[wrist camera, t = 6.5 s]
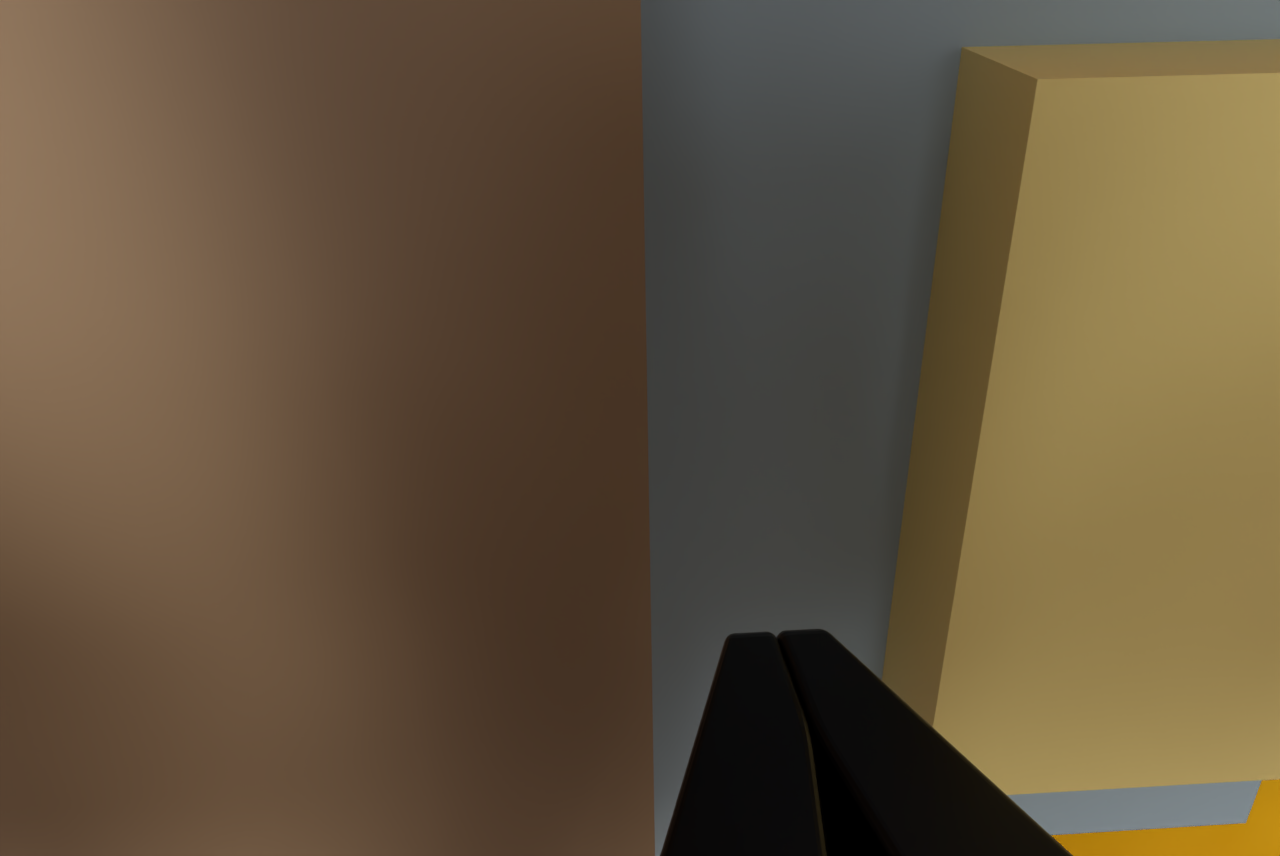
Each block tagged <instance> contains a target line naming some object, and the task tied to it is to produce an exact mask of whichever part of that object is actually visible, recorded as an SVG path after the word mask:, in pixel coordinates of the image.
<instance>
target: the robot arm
mask: <svg viewBox="0 0 1280 856" xmlns="http://www.w3.org/2000/svg"><path fill="white" fill-rule="evenodd" d="M660 856H1073V855H1072V854H1070V853H1069V852H1068V851H1067V850H1066V849H1065V848H1064V847H1063V846H1062V845H1061V844H1060V843H1058V842H1057V841H1056V840H1055V839H1054V838H1053V837H1052V836H1051V835H1050V834H1049V833H1048V832H1046V831H1045V830H1044V829H1043V828H1042V827H1041V826H1040V825H1039V824H1038V823H1037V822H1036V821H1034V820H1033V819H1032V818H1031V817H1030V816H1029V815H1028V814H1027V813H1026V812H1025V811H1024V810H1022V809H1021V808H1020V807H1019V806H1018V805H1017V804H1016V803H1015V802H1014V801H1013V800H1012V799H1010V798H1009V797H1008V796H1007V795H1006V794H1005V793H1004V792H1003V791H1002V790H1001V789H1000V788H998V787H997V786H996V785H995V784H994V783H993V782H992V781H991V780H990V779H989V778H988V777H986V776H985V775H984V774H983V773H982V772H981V771H980V770H979V769H978V768H977V767H976V766H974V765H973V764H972V763H971V762H970V761H969V760H968V759H967V758H966V757H965V756H964V755H962V754H961V753H960V752H959V751H958V750H957V749H956V748H955V747H954V746H953V745H952V744H950V743H949V742H948V741H947V740H946V739H945V738H944V737H943V736H942V735H941V734H940V733H938V732H937V731H936V730H935V729H934V728H933V727H932V726H931V725H930V724H929V723H928V722H926V721H925V720H924V719H923V718H922V717H921V716H920V715H919V714H918V713H917V712H916V711H914V710H913V709H912V708H911V707H910V706H909V705H908V704H907V703H906V702H905V701H904V700H902V699H901V698H900V697H899V696H898V695H897V694H896V693H895V692H894V691H893V690H892V689H891V688H889V687H888V686H887V685H886V684H885V683H884V682H883V681H882V680H881V679H880V678H879V677H877V676H876V675H875V674H874V673H873V672H872V671H871V670H870V669H869V668H868V667H867V666H865V665H864V664H863V663H862V662H861V661H860V660H859V659H858V658H857V657H856V656H855V655H853V654H852V653H851V652H850V651H849V650H848V649H847V648H846V647H845V646H844V645H843V644H841V643H840V642H839V641H838V640H837V639H836V638H835V637H834V636H833V635H832V634H830V633H829V632H827V631H825V630H823V629H802V630H785V631H782V632H780V633H779V634H778V635H777V637H776V636H775V635H774V634H772V633H771V632H767V631H765V632H747V633H733V634H730V635H728V636H727V638H726V639H725V642H724V645H723V648H722V651H721V655H720V658H719V661H718V665H717V668H716V671H715V675H714V678H713V681H712V685H711V688H710V691H709V695H708V698H707V701H706V705H705V708H704V711H703V715H702V718H701V721H700V725H699V728H698V731H697V735H696V738H695V741H694V745H693V748H692V751H691V755H690V758H689V761H688V765H687V768H686V771H685V775H684V778H683V781H682V785H681V788H680V791H679V795H678V798H677V801H676V805H675V808H674V811H673V815H672V818H671V821H670V825H669V828H668V831H667V835H666V838H665V841H664V845H663V848H662V851H661V854H660Z"/></svg>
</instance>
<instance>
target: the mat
mask: <svg viewBox="0 0 1280 856" xmlns="http://www.w3.org/2000/svg"><path fill="white" fill-rule="evenodd" d="M1262 39H1280V0H641V51H642V110H643V169H644V229H645V288H646V347H647V407H648V466H649V526H650V585H651V644H652V704H653V763H654V822H655V856H660V854H661V851H662V848H663V845H664V841H665V838H666V835H667V831H668V828H669V825H670V821H671V818H672V815H673V811H674V808H675V805H676V801H677V798H678V795H679V791H680V788H681V785H682V781H683V778H684V775H685V771H686V768H687V765H688V761H689V758H690V755H691V751H692V748H693V745H694V741H695V738H696V735H697V731H698V728H699V725H700V721H701V718H702V715H703V711H704V708H705V705H706V701H707V698H708V695H709V691H710V688H711V685H712V681H713V678H714V675H715V671H716V668H717V665H718V661H719V658H720V655H721V651H722V648H723V645H724V642H725V639H726V638H727V636H728V635H730V634H733V633H747V632H765V631H767V632H771V633H772V634H774V635H775V636H776V637H777V635H778V634H779V633H780V632H782V631H785V630H802V629H823V630H825V631H827V632H829V633H830V634H832V635H833V636H834V637H835V638H836V639H837V640H838V641H839V642H840V643H841V644H843V645H844V646H845V647H846V648H847V649H848V650H849V651H850V652H851V653H852V654H853V655H855V656H856V657H857V658H858V659H859V660H860V661H861V662H862V663H863V664H864V665H865V666H867V667H868V668H869V669H870V670H871V671H872V672H873V673H874V674H875V675H876V676H877V677H879V678H880V679H881V680H882V675H883V667H884V659H885V651H886V643H887V635H888V627H889V619H890V611H891V604H892V596H893V588H894V580H895V572H896V564H897V556H898V548H899V540H900V532H901V524H902V516H903V509H904V501H905V493H906V485H907V477H908V469H909V461H910V453H911V445H912V437H913V429H914V421H915V413H916V406H917V398H918V390H919V382H920V374H921V366H922V358H923V350H924V342H925V334H926V326H927V318H928V311H929V303H930V295H931V287H932V279H933V271H934V263H935V255H936V247H937V239H938V231H939V223H940V216H941V208H942V200H943V192H944V184H945V176H946V168H947V160H948V152H949V144H950V136H951V128H952V120H953V113H954V105H955V97H956V89H957V81H958V73H959V65H960V57H961V49H962V47H982V46H1022V45H1062V44H1102V43H1142V42H1182V41H1222V40H1262ZM1261 781H1262V780H1257V781H1240V782H1223V783H1206V784H1188V785H1171V786H1154V787H1137V788H1120V789H1103V790H1086V791H1068V792H1051V793H1034V794H1017V795H1007V796H1008V797H1009V798H1010V799H1012V800H1013V801H1014V802H1015V803H1016V804H1017V805H1018V806H1019V807H1020V808H1021V809H1022V810H1024V811H1025V812H1026V813H1027V814H1028V815H1029V816H1030V817H1031V818H1032V819H1033V820H1034V821H1036V822H1037V823H1038V824H1039V825H1040V826H1041V827H1042V828H1043V829H1044V830H1045V831H1046V832H1048V833H1049V834H1050V835H1060V834H1076V833H1092V832H1108V831H1124V830H1140V829H1156V828H1172V827H1188V826H1204V825H1220V824H1236V823H1246V821H1247V818H1248V815H1249V813H1250V810H1251V807H1252V805H1253V802H1254V799H1255V797H1256V794H1257V791H1258V789H1259V786H1260V783H1261Z"/></svg>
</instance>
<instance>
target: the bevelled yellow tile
mask: <svg viewBox="0 0 1280 856" xmlns="http://www.w3.org/2000/svg"><path fill="white" fill-rule="evenodd" d="M882 681H883V682H884V683H885V684H886V685H887V686H888V687H889V688H891V689H892V690H893V691H894V692H895V693H896V694H897V695H898V696H899V697H900V698H901V699H902V700H904V701H905V702H906V703H907V704H908V705H909V706H910V707H911V708H912V709H913V710H914V711H916V712H917V713H918V714H919V715H920V716H921V717H922V718H923V719H924V720H925V721H926V722H928V723H929V724H930V725H931V726H932V727H933V728H934V729H935V730H936V731H937V732H938V733H940V734H941V735H942V736H943V737H944V738H945V739H946V740H947V741H948V742H949V743H950V744H952V745H953V746H954V747H955V748H956V749H957V750H958V751H959V752H960V753H961V754H962V755H964V756H965V757H966V758H967V759H968V760H969V761H970V762H971V763H972V764H973V765H974V766H976V767H977V768H978V769H979V770H980V771H981V772H982V773H983V774H984V775H985V776H986V777H988V778H989V779H990V780H991V781H992V782H993V783H994V784H995V785H996V786H997V787H998V788H1000V789H1001V790H1002V791H1003V792H1004V793H1005V794H1006V795H1017V794H1034V793H1051V792H1068V791H1086V790H1103V789H1120V788H1137V787H1154V786H1171V785H1188V784H1206V783H1223V782H1240V781H1257V780H1274V779H1280V39H1262V40H1222V41H1182V42H1142V43H1102V44H1062V45H1022V46H982V47H962V49H961V57H960V65H959V73H958V81H957V89H956V97H955V105H954V113H953V120H952V128H951V136H950V144H949V152H948V160H947V168H946V176H945V184H944V192H943V200H942V208H941V216H940V223H939V231H938V239H937V247H936V255H935V263H934V271H933V279H932V287H931V295H930V303H929V311H928V318H927V326H926V334H925V342H924V350H923V358H922V366H921V374H920V382H919V390H918V398H917V406H916V413H915V421H914V429H913V437H912V445H911V453H910V461H909V469H908V477H907V485H906V493H905V501H904V509H903V516H902V524H901V532H900V540H899V548H898V556H897V564H896V572H895V580H894V588H893V596H892V604H891V611H890V619H889V627H888V635H887V643H886V651H885V659H884V667H883V675H882Z"/></svg>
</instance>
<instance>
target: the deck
mask: <svg viewBox="0 0 1280 856" xmlns="http://www.w3.org/2000/svg"><path fill="white" fill-rule="evenodd" d="M0 856H655V822H654V763H653V704H652V644H651V585H650V526H649V466H648V407H647V347H646V288H645V229H644V169H643V110H642V51H641V0H0Z"/></svg>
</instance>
